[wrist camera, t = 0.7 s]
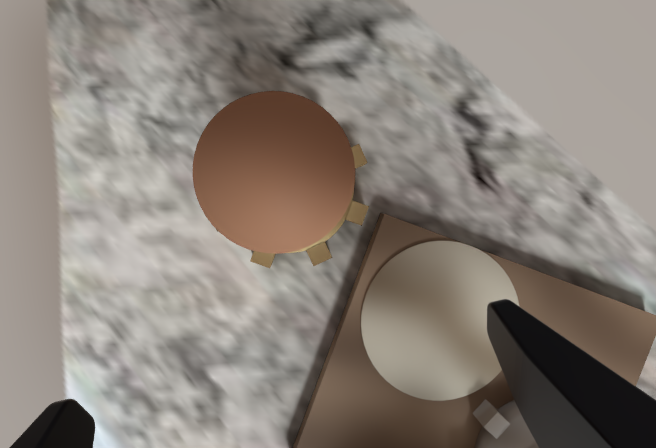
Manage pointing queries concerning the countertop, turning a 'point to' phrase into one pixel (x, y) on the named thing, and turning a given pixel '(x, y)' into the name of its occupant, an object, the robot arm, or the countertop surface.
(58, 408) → the robot arm
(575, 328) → the gear board
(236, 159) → the gear spindle
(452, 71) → the countertop surface
